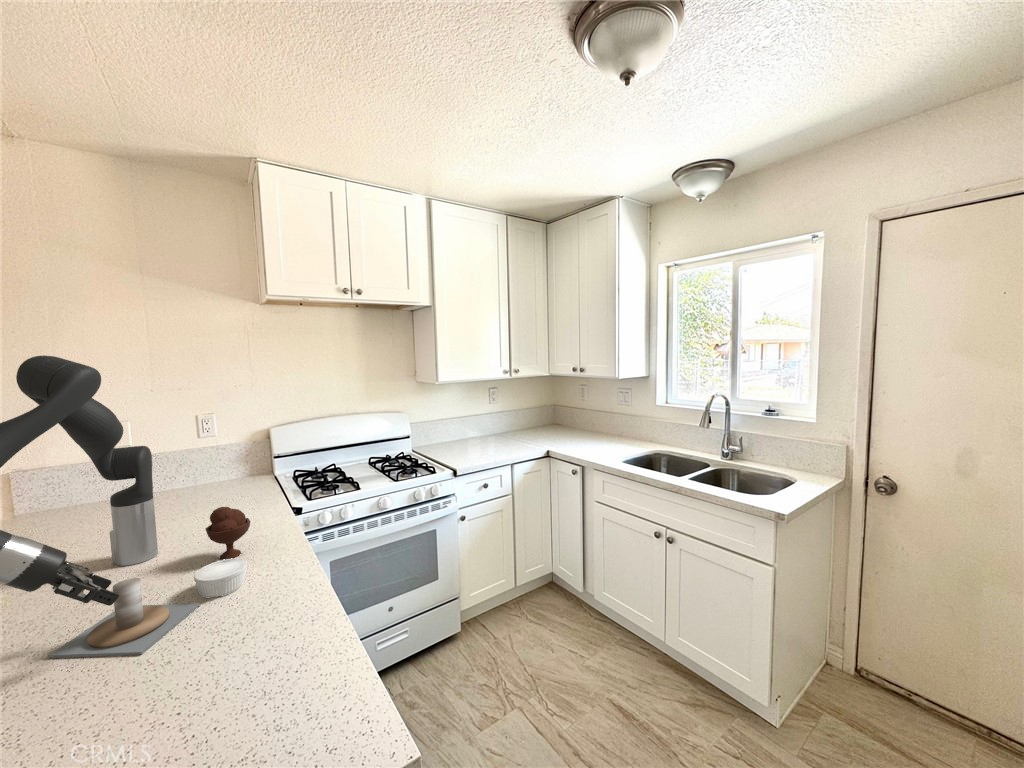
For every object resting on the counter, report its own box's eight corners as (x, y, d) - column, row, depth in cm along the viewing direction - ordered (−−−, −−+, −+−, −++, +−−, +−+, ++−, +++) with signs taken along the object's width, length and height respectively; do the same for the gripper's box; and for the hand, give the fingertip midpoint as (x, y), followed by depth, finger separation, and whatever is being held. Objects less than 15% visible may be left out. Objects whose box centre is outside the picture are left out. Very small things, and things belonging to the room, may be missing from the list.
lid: (68, 649, 83) (64, 602, 82) (126, 610, 96) (122, 569, 95) (135, 646, 84) (131, 599, 83) (183, 607, 96) (180, 566, 96)
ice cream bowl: (230, 566, 117) (227, 514, 115) (198, 563, 119) (194, 512, 118) (260, 548, 127) (257, 500, 126) (230, 546, 129) (226, 499, 128)
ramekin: (240, 572, 114) (239, 553, 113) (255, 586, 106) (254, 566, 106) (190, 590, 105) (188, 570, 105) (202, 607, 98) (200, 585, 97)
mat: (48, 658, 82) (48, 655, 82) (122, 608, 98) (122, 605, 98) (141, 654, 82) (141, 651, 82) (200, 605, 98) (199, 603, 98)
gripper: (44, 554, 75) (134, 586, 85) (38, 534, 84) (120, 565, 94) (1, 596, 71) (100, 624, 81) (-1, 570, 80) (89, 599, 90)
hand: (111, 593), depth 87 cm, fingers open, 8 cm apart
